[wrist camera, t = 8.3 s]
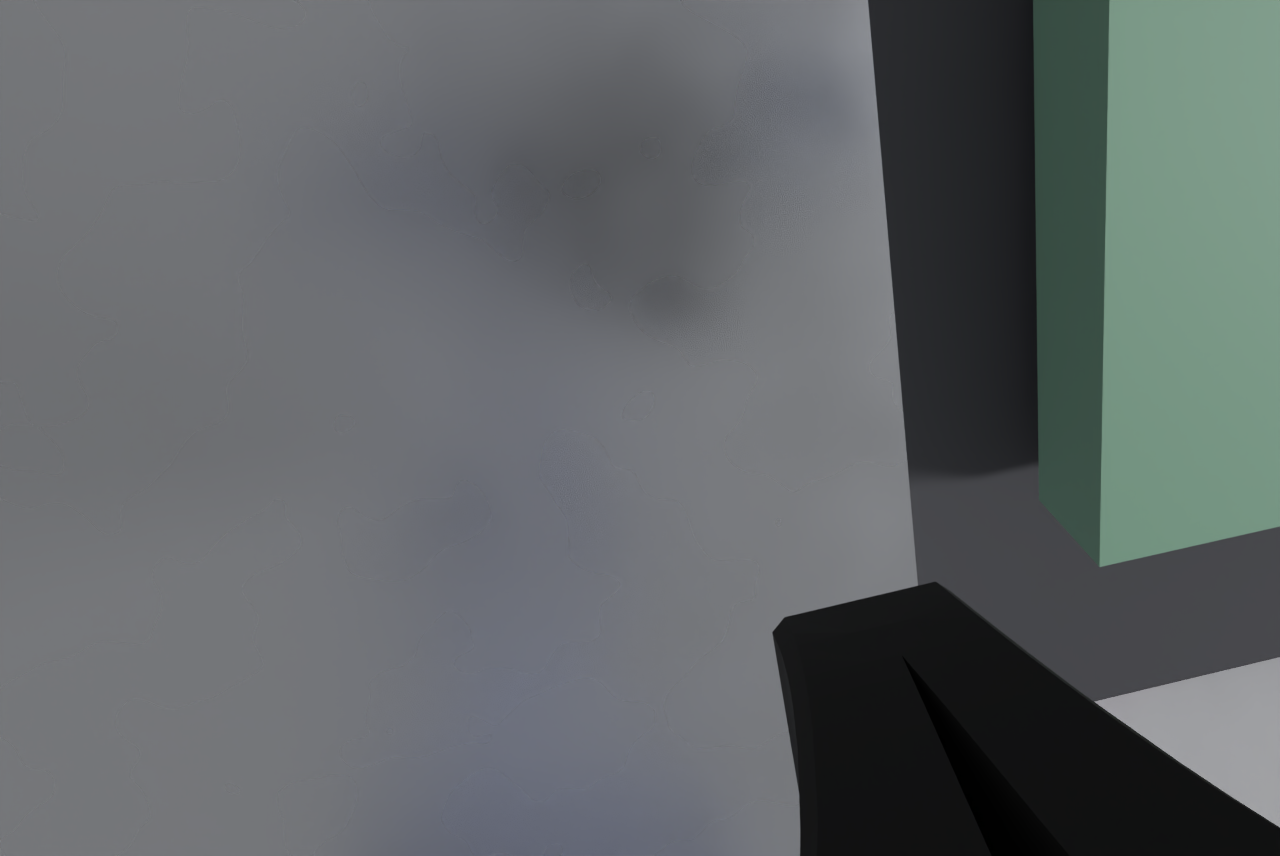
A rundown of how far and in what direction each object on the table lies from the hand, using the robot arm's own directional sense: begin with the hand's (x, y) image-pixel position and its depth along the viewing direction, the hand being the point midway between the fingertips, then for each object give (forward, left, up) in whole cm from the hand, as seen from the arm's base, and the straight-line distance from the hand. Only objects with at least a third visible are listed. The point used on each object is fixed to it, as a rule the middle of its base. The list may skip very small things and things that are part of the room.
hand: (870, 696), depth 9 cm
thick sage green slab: (0, -8, -6) cm, 10 cm away
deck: (0, +5, -9) cm, 10 cm away
